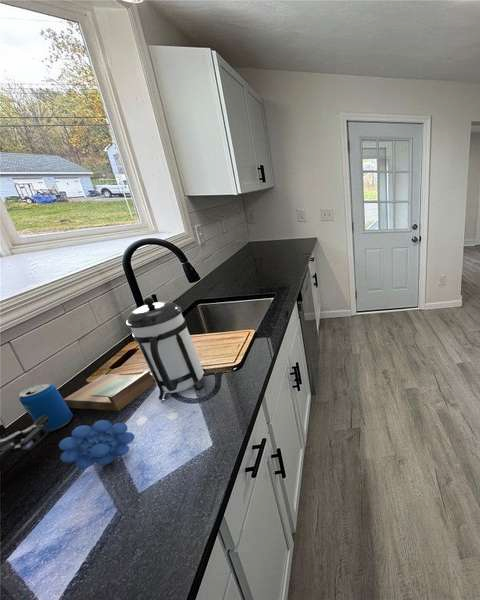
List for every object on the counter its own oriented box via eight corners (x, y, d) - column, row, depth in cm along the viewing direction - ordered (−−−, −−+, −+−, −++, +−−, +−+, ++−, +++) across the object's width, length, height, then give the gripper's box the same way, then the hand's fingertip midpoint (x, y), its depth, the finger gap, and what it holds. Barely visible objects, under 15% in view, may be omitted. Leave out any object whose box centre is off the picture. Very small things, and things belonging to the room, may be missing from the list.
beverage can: (35, 431, 84) (10, 396, 79) (63, 414, 89) (42, 380, 85) (52, 435, 82) (27, 398, 77) (80, 417, 88) (58, 382, 83)
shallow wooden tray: (67, 407, 92) (59, 394, 90) (108, 381, 103) (101, 369, 101) (119, 411, 89) (111, 397, 87) (155, 383, 100) (149, 371, 98)
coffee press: (140, 398, 94) (95, 307, 82) (191, 367, 107) (158, 286, 95) (178, 411, 87) (134, 315, 75) (227, 377, 100) (196, 291, 88)
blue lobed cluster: (77, 492, 66) (48, 451, 61) (74, 474, 70) (47, 434, 65) (144, 456, 74) (122, 417, 69) (138, 441, 78) (117, 403, 73)
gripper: (-4, 456, 63) (52, 403, 77) (-99, 478, 59) (-22, 418, 74) (17, 481, 66) (67, 426, 80) (-73, 504, 62) (-4, 442, 77)
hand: (24, 422), depth 77 cm, fingers open, 8 cm apart
